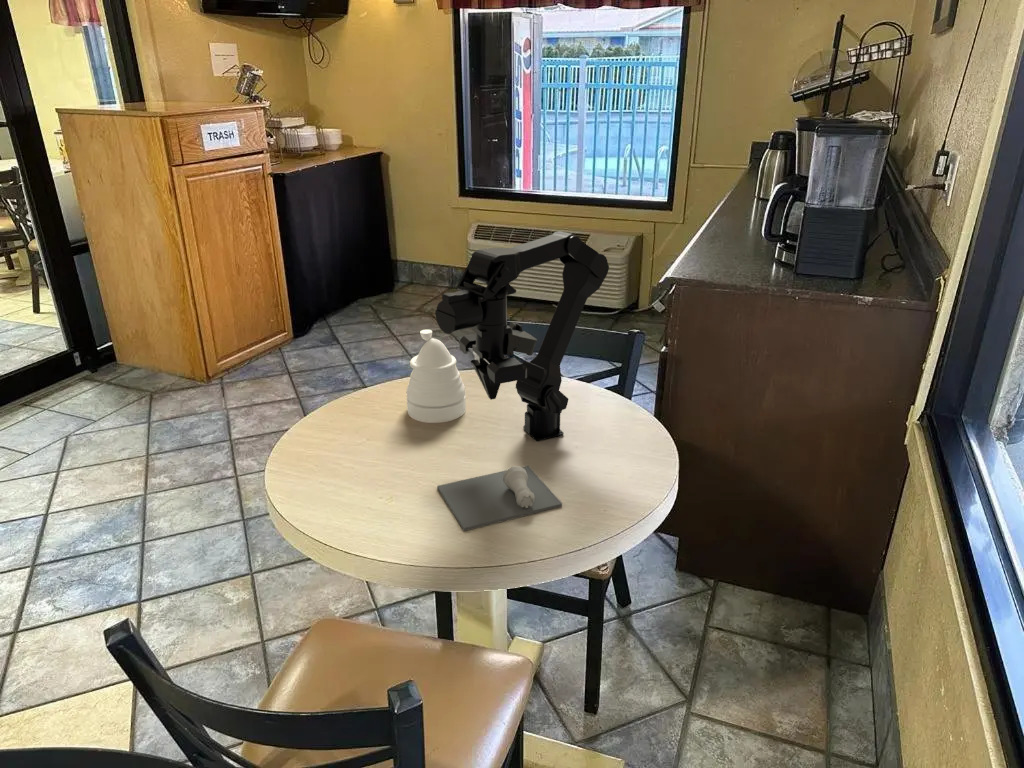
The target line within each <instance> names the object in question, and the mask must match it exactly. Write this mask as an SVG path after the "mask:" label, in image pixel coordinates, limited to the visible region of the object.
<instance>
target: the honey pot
mask: <svg viewBox="0 0 1024 768" xmlns="http://www.w3.org/2000/svg"><path fill="white" fill-rule="evenodd" d="M419 333H420V334H419V335H420V336H421V339H423V340H425V341H426V342H425V343H424V344H423V345H422V347H421V349H420V351H419V352H418V354H417V355H415V356H413V357H412V358H411V359H410V361H409V365H410V367H411V368H412V371H411V373H410V376H409V380H408V384H407V387H406V408H407V414H408V416H409V417H410V418H411V419H413V420H415V421H417V422H422V423H427V424H428V423H429V424H440V423H449V422H451V421H454V420H456V419H459V418H461V416H463V415H464V414H465V412H466V410H467V409H466V387H465V384H464V382H463V379H462V377H461V373H460V371H459V370H458V368H457V365H456V364H457V359H456V357H455V356H454V355H452V354H451V353H450V352H449V350H448V348H447V347H446V345H445V344H444V343H443V342H442V341H441V340H439V339H437V338H433V337H432V336H433V330H432V329H422V330H420V332H419Z"/></svg>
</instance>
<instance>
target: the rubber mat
mask: <svg viewBox="0 0 1024 768" xmlns="http://www.w3.org/2000/svg"><path fill="white" fill-rule="evenodd" d="M521 467H522V468H524V469H525V470H526V473H527V475H528V481H527V487H528V488H529V489H530V491H531V492H532V493H533V494H534V496H535V497H534V502H533V503H532V504H533V505H532V506H530V505H529V506H528V508H525V507H523V508H522V507H521V506H519V505H518V504H517V502H516V497H515V493H514V491H512V490H510V489H509V488H507V487H506V485H505V484H504V482H503V476H504V473H505V472H506V471H507V470H508V469H506V470H502V471H497V472H493V473H489V474H485V475H480V476H479V475H478V476H476V477H470V478H466V479H462V480H457V481H454V482H453V481H452V482H448V483H444V484H440V485H439V484H438V485H437V490H438V492H439V494H440V495H441V497H442V499H443V500H444V502H445V503H446V505H447V506H448V508H449V509H450V512H451V513H452V514H453V516H454V517H455V519H456V520H457V522H458V524H459V525H460V526H461V528H462V530H463V532H467V531H471V530H473V529H478V528H482V527H485V526H490V525H494V524H498V523H501V522H502V523H503V522H506V521H510V520H513V519H517V518H522V517H525V516H529V515H533V514H537V513H541V512H546V511H549V510H553V509H556V508H557V509H558V508H562V507H563V503H562V502H561V500H559V498H558V497H557V496H556V495H555V494H554V493H553V492H552V490H551V489H549V487H548V486H547V485H546V484H545V483H544V482H543V480H542V479H541V478H540V477H539V476H538V475H537V474H536V473H535V472H534V470H533V469H532V468H531V467H530V466H529V465H525V466H521Z"/></svg>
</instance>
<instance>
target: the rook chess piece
mask: <svg viewBox="0 0 1024 768" xmlns="http://www.w3.org/2000/svg"><path fill="white" fill-rule="evenodd" d="M522 467H523V466H517V465H516V466H511V467H509V468H508V469H506V470H507V471H506V470H505V471H506V472H505V473H504V476H503V482H504V484H505V485H506V487H507V488H509V489H510V490H512V491H514V493H515V497H516V502H517V504H518V505H519V506H521V507H522V508H523V507H525V508H528V506H529V505H530V506H532V505H533V504H532V503H533V502H534V497H535V496H534V494H533V493H532V492H531V491H530V489H529V488H528V487H527V481H528V475H527V473H526V470H525V469H524V468H522Z"/></svg>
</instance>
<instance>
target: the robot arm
mask: <svg viewBox="0 0 1024 768" xmlns="http://www.w3.org/2000/svg"><path fill="white" fill-rule="evenodd" d="M556 260H558V261H559V262H560V263H561V264H562V265H563V271H562V273H561V274H562V283H563V289H562V290H563V291H562V293H561V296H560V298H559V301H558V302H557V306H556V308H555V310H554V313H553V316H552V318H551V320H550V323H549V325H548V328H547V331H546V333H545V335H544V338H543V340H542V342H541V344H540V345H541V346H540V347H539V350H538V352H537V355H536V356H535V357H533V359H531V360H530V361H528V360H524V361H523V362H521V361H520V360H518V359H517V358H516V357H514V356H513V355H514V352H516V353H521V354H526V355H527V356H533V353H534V351H535V347H536V345H537V343H538V339H537V338H536V337H534V336H533V335H531V334H530V333H528V332H526V331H525V330H523V327H522V325H520V324H519V323H517V322H510V323H509V325H508V314H507V313H508V308H507V307H508V303H507V302H508V298H507V297H508V296H510V295H514V294H516V293H517V289H515V288H514V287H513V286H512V285H511V283H512V282H514V281H516V280H517V279H518V277H519V276H520V274H521V273H523V272H524V271H527V270H529V269H533V268H534V267H535V268H536V267H538V266H541V265H544V264H546V263H550V262H552V261H556ZM609 269H610V265H609V262H608V258H607V257H606V255H605V254H602V253H599V252H598V251H597V250H595V249H594V248H592V247H591V246H589V244H586V243H585V242H583V240H582V239H581V238H579V237H578V236H577V235H576V234H574V233H571V232H565V231H562V230H560V231H559V230H558V231H555V232H553V233H552V234H550V235H547V236H546V235H545V236H543V237H540V238H536V239H534V240H531V241H528V242H525V243H522V244H519V245H516V246H512V247H509V248H508V247H507V248H505V247H504V248H503V247H501V248H500V247H490V248H489V247H488V248H481V249H477V250H475V251H474V252H473V253H472V254H471V257H470V259H469V262H468V264H467V266H466V268H465V270H464V272H463V274H462V276H461V278H460V279H459V281H458V284H457V286H456V289H457V290H459V291H454V292H446V293H443V294H442V295H441V301H439V302H438V303H437V306H436V310H435V311H434V313H435V320H436V322H437V325H438V327H439V329H440V330H441V331H442V332H443V333H445V334H446V335H447V334H448V335H449V334H453V333H457V332H460V331H463V330H467V329H471V330H473V332H475V333H472V334H467V335H465V334H464V335H463V336H462V337H461V338H460V339H459V340H458V341H459V351H460V352H462V353H463V354H464V355H467V354H468V352H469V349H472V354H473V355H474V359H472V360H470V364H471V365H472V367H473V369H474V371H475V373H476V375H477V377H478V378H479V380H480V383H481V385H482V386H483V389H484V390H485V393H486V395H487V398H488V399H490V400H491V401H492V400H495V399H496V398H497V396H498V393H499V390H500V386H501V385H502V384H505V383H511V382H516V383H515V389H516V392H517V394H518V396H519V397H520V399H521V402H523V403H525V404H526V411H525V412H524V424H523V427H522V428H523V429H524V431H525V432H526V433H528V435H529V436H530V437H532V439H533V440H534V441H536V442H537V441H543V440H547V439H548V440H549V439H552V438H558V437H562V436H564V431H562V429H561V413H562V411H563V410H566V409H567V406H568V403H569V398H568V397H567V395H565V393H563V392H561V391H560V388H561V385H562V381H563V380H562V379H563V378H562V372H561V364H562V361H563V359H564V357H565V353H566V351H567V349H568V347H569V344H570V341H571V338H572V336H573V334H574V332H575V329H576V327H577V324H578V323H579V320H580V317H581V315H582V312H583V310H584V307H585V305H586V302H587V300H588V298H590V297H591V296H592V295H593V294H595V293H596V292H597V291H598V290H600V288H601V286H602V284H603V283H604V281H605V279H606V277H607V276H608V273H609ZM475 282H478V283H482V284H484V285H486V286H484V285H481V284H478V283H475ZM509 356H513V357H509Z"/></svg>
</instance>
